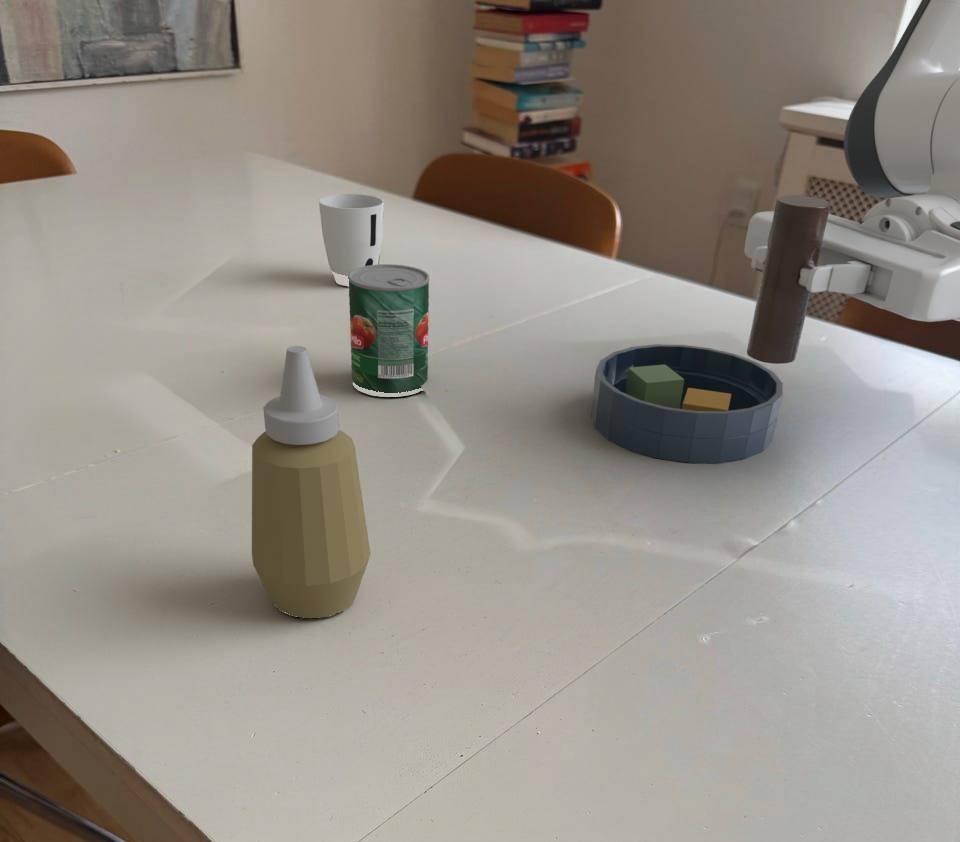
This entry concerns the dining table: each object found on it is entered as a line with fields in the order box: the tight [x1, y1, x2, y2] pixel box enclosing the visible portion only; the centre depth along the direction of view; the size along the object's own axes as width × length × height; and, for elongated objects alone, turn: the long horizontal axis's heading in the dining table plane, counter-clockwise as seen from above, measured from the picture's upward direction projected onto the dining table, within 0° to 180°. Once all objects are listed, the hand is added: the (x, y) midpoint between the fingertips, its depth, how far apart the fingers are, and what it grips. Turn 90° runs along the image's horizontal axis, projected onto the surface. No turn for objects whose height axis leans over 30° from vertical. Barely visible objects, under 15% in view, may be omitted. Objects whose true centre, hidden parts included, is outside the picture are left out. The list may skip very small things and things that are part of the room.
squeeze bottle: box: [251, 345, 371, 620], centre depth 65 cm, size 8×8×18 cm
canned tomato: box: [348, 263, 430, 393], centre depth 100 cm, size 8×8×11 cm
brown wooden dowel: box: [746, 195, 831, 365], centre depth 79 cm, size 4×4×12 cm
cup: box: [318, 193, 385, 276], centre depth 128 cm, size 8×8×10 cm
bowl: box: [590, 343, 784, 464], centre depth 95 cm, size 17×17×6 cm
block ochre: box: [682, 388, 731, 411], centre depth 92 cm, size 4×4×4 cm
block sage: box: [625, 365, 684, 409], centre depth 97 cm, size 4×4×4 cm
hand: (781, 269), depth 78 cm, fingers closed on brown wooden dowel, 4 cm apart
